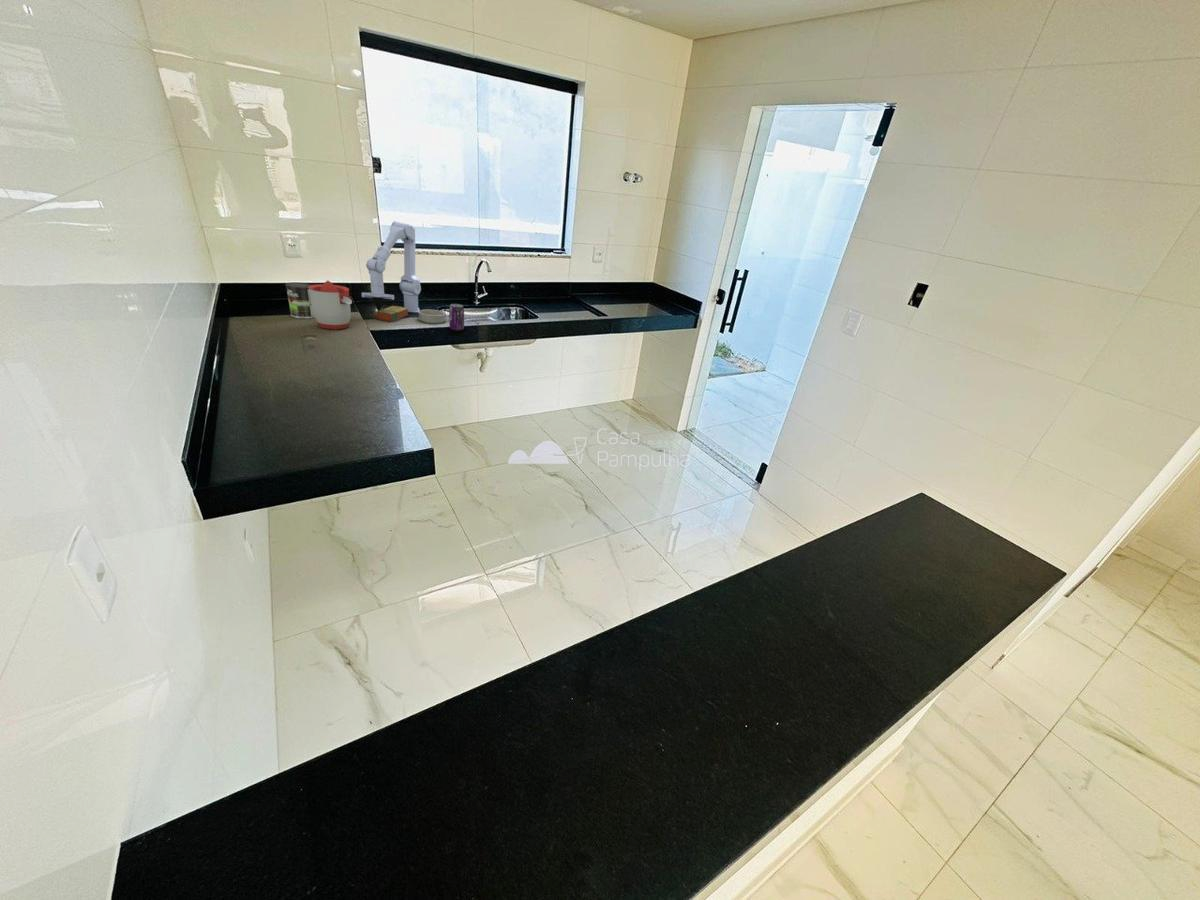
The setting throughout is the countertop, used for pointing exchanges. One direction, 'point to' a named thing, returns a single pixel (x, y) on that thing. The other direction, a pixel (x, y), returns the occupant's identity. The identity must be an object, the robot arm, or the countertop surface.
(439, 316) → the beige round dish
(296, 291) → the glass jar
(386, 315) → the carton
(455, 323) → the beverage can
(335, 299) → the citrus juicer
